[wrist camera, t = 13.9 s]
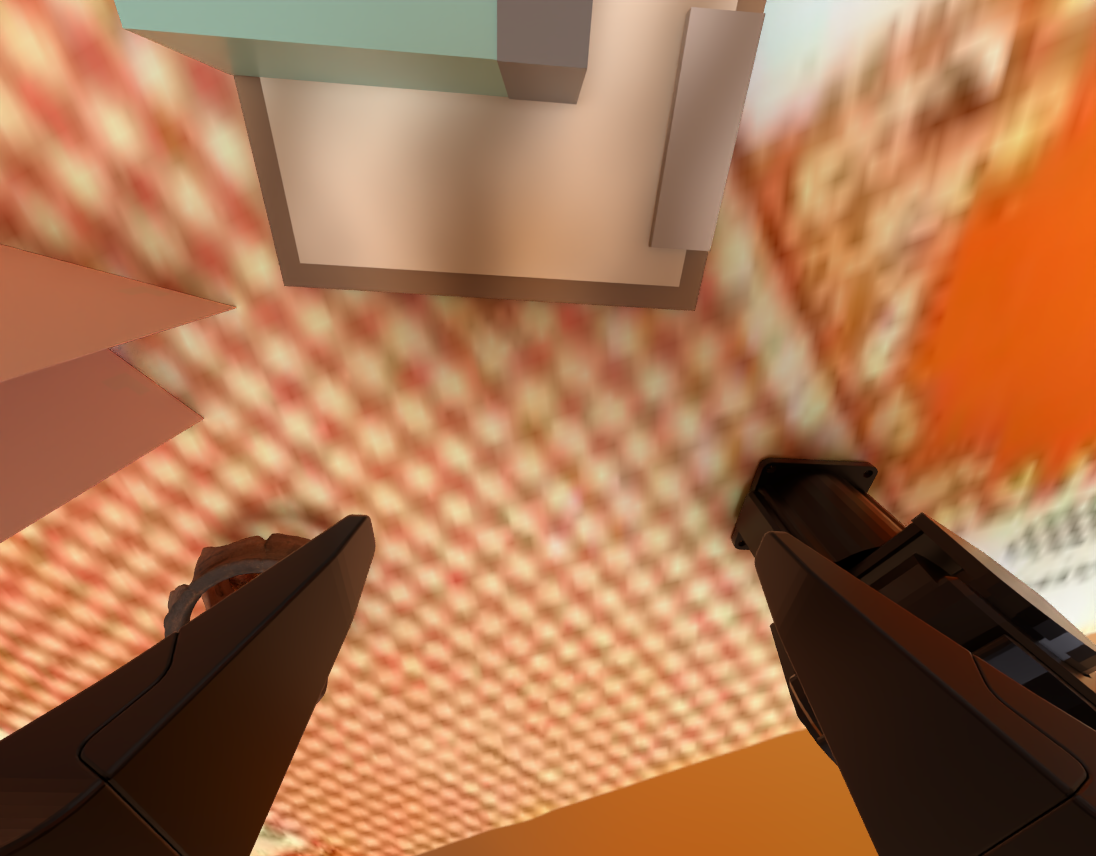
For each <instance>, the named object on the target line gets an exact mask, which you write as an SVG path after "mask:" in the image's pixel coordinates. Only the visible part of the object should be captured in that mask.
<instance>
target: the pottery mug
mask: <svg viewBox="0 0 1096 856" xmlns="http://www.w3.org/2000/svg"><path fill="white" fill-rule="evenodd" d="M309 541H311V540H309V539H306V538H301V537H298V536H289V535H284V534H279V533H276V534H272V535H271V536H270V537H269V538H268V539H267V540H264V539H263V538H262V537H260V536H253V537H249V538H245V539H242V540H240V541H238V542H235V543H232V544H229V545H225V546H221V547H205V548H203V550H202V553H201V556H200V557H199V559H198V561H197V564H196V567H195V572H194V577H193V580H192V582H191V584H190V585H186V584H183V585H181V586H178V587H177V588H176V589H175V590H174V591H171V592H170V596H169V601H168V609H169V613H168V614H167V615H166V617H165V619H164V628H165V638H166V637H167V636H169V635H170V634H172V633H173V632H179V629H180V628H181V627H183V626H184V625H186V624H187V623H189V622H190V616H191V613H192V610H193V608H194V606H195V604H196V603H197V601H198V600H199V598H200V597H201V596H202V599H203V602H204V604H205V607H206V610H208V609H209V608H211V607H212V606H214V605H215V604H217V603H218V602H220V601H221V600H223V599H224V598H226V597H227V596H229V595H230V594H232V593H233V592H235V591H234V589H233V588H232V586H231V584H230V581H229V578H231V577H234V576H237V575H242V574H249V573H263V572H264V571H266V570H267V569H269V568H270V567H272V566H273V565H275V564H276V563H278V562H279V561H281V560H282V559H284V558H285V557H287V556H288V555H290V554H291V553H293V552H294V551H296V550H297V549H299V548H300V547H302V546H303V545H305V544H306V543H308V542H309ZM327 682H328V678H327V680H326V683H325V685H324V687H323V690H322V692H321V694H320V696H319V699H318V701H317V703H318V702H319V701H320V699H321V698H322V697H323V696H324V694H325V692H326V688H327ZM317 703H316V704H317Z"/></svg>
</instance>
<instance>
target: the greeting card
mask: <svg viewBox="0 0 1096 856" xmlns="http://www.w3.org/2000/svg"><path fill="white" fill-rule="evenodd" d="M235 308H236V307H234V306H230V305H226V304H222V303H219V302H215V301H211V300H207V299H204V298H200V297H196V296H192V295H189V294H185V293H181V292H177V291H174V290H170V289H166V288H162V287H159V286H155V285H151V284H147V283H144V282H140V281H136V280H132V279H129V278H125V277H121V276H118V275H114V274H110V273H106V272H103V271H99V270H95V269H91V268H88V267H84V266H80V265H76V264H73V263H69V262H65V261H61V260H58V259H54V258H50V257H46V256H43V255H39V254H35V253H31V252H28V251H24V250H20V249H16V248H13V247H9V246H5V245H1V244H0V543H1V542H3V541H5V540H6V539H8V538H10V537H11V536H13V535H14V534H16V533H18V532H19V531H21V530H23V529H24V528H26V527H28V526H29V525H31V524H32V523H34V522H36V521H37V520H39V519H41V518H42V517H44V516H46V515H47V514H49V513H50V512H52V511H54V510H55V509H57V508H59V507H60V506H62V505H64V504H65V503H67V502H68V501H70V500H72V499H73V498H75V497H77V496H78V495H80V494H82V493H83V492H85V491H86V490H88V489H90V488H91V487H93V486H95V485H96V484H98V483H100V482H101V481H103V480H104V479H106V478H108V477H109V476H111V475H113V474H114V473H116V472H118V471H119V470H121V469H122V468H124V467H126V466H127V465H129V464H131V463H132V462H134V461H136V460H137V459H139V458H140V457H142V456H144V455H145V454H147V453H149V452H150V451H152V450H154V449H155V448H157V447H158V446H160V445H162V444H163V443H165V442H167V441H168V440H170V439H172V438H173V437H175V436H176V435H178V434H180V433H181V432H183V431H185V430H186V429H188V428H190V427H191V426H193V425H194V424H196V423H198V422H199V421H201V420H203V419H204V418H202V417H201V416H200V415H198V414H197V413H195V412H194V411H193V410H191V409H190V408H189V407H187V406H186V405H185V404H183V403H182V402H180V401H179V400H178V399H176V398H175V397H174V396H172V395H171V394H169V393H168V392H167V391H165V390H164V389H163V388H161V387H160V386H158V385H157V384H156V383H154V382H153V381H152V380H150V379H149V378H148V377H146V376H145V375H143V374H142V373H141V372H139V371H138V370H137V369H135V368H134V367H132V366H131V365H130V364H128V363H127V362H126V361H124V360H123V359H121V358H120V357H119V356H117V355H116V354H115V353H113V352H112V351H110V350H109V349H108V348H111V347H114V346H117V345H121V344H124V343H127V342H130V341H133V340H136V339H140V338H143V337H146V336H149V335H152V334H155V333H159V332H162V331H165V330H168V329H171V328H175V327H178V326H181V325H184V324H187V323H190V322H194V321H197V320H200V319H203V318H206V317H209V316H213V315H216V314H219V313H222V312H225V311H228V310H232V309H235Z"/></svg>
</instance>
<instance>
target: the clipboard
mask: <svg viewBox="0 0 1096 856" xmlns="http://www.w3.org/2000/svg"><path fill="white" fill-rule="evenodd" d="M765 4H766V0H593V5H592V17H591V29H590V41H589V53H588V65H587V71H586V74H585V78H584V81H583V84H582V88H581V91H580V94H579V97H578V101H577V104H566V103H554V102H541V101H529V100H516V99H509V97H501V96H489V95H477V94H464V93H452V92H439V91H427V90H415V89H402V88H390V87H378V86H365V85H353V84H340V83H328V82H316V81H303V80H291V79H278V78H266V77H254V76H241V75H234V79H235V83H236V87H237V91H238V95H239V99H240V103H241V108H242V112H243V116H244V120H245V124H246V128H247V133H248V137H249V141H250V145H251V149H252V153H253V157H254V162H255V166H256V170H257V174H258V178H259V182H260V187H261V191H262V195H263V199H264V203H265V207H266V211H267V216H268V220H269V224H270V228H271V232H272V236H273V241H274V245H275V249H276V253H277V257H278V261H279V265H280V270H281V274H282V278H283V282H284V286H294V287H311V288H327V289H344V290H360V291H377V292H393V293H410V294H426V295H443V296H459V297H476V298H492V299H509V300H525V301H542V302H559V303H575V304H592V305H608V306H625V307H641V308H658V309H674V310H691V311H695V308H696V303H697V299H698V295H699V290H700V286H701V282H702V277H703V273H704V268H705V264H706V260H707V255H708V251H710V250H711V245H712V241H713V237H714V232H715V228H716V224H717V219H718V215H719V211H720V207H721V202H722V198H723V194H724V189H725V185H726V181H727V176H728V172H729V168H730V163H731V159H732V155H733V151H734V146H735V142H736V138H737V133H738V129H739V125H740V120H741V116H742V112H743V107H744V103H745V99H746V94H747V90H748V86H749V82H750V77H751V73H752V69H753V64H754V60H755V56H756V51H757V47H758V43H759V38H760V34H761V30H762V26H763V21H764V17H765V13H763V12H764V8H765Z"/></svg>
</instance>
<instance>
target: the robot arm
mask: <svg viewBox="0 0 1096 856" xmlns="http://www.w3.org/2000/svg"><path fill="white" fill-rule="evenodd" d="M770 466H772V467H771V468H770V469H767V468H768V467H770ZM877 472H878V471H877V469H876V468H875V467H874V466H873V465H871V464H870V463H865V462H844V461H823V460H802V459H781V458H767V459H765V460H763V461H762V462H761V463H760V464H759V467H758V469H757V472H756V475H755V477H754V480H753V483H752V486H751V488H750V491H749V493H748V494H747V496H746V499H745V501H744V504H743V507H742V509H741V512H740V515H739V518H738V520H737V523H736V529H735V531H734V534H733V537H732V543H733V545H734V546H735V548H737V549H741V550H750V551H751V553H752V554H753V556H754V557H755V567H756V571H757V574H758V577H759V580H760V583H761V585H762V588H763V591H764V594H765V597H766V600H767V603H768V606H769V609H770V612H771V615H772V618H773V621H774V623H772V624H771V625H770V628H771V631H772V634H773V638H774V641H775V645H776V648H777V651H778V655H779V658H780V662H781V665H782V668H783V672H784V675H785V679H786V682H787V685H788V689H789V692H790V696H791V698H792V701H793V704H794V707H795V710H796V713H797V716H798V718H799V719H800V721H801V722H802V723H803V724H804V725H805V727H806V728H807V730H808V731H809V733H810V734H811V735H812V737H813V738H814V739H815V741H816V742H817V744H818V745H819V746H820V747H821V748H822V749H823V751H825V753H826V754H827V755H828V756H829V757H830V758H831V759H832V760H833V761H834V762H835V764H836V765H837V766H838V767H839V769H840V771H841V774H842V776H843V778H844V780H845V782H846V785H847V787H848V789H849V791H850V794H851V796H852V798H853V800H854V802H855V805H856V807H857V809H858V811H859V813H860V816H861V818H862V820H863V822H864V824H865V827H866V829H867V831H868V833H869V836H870V838H871V840H872V842H873V844H874V846H875V849H876V851H877V853H878V855H879V856H1096V672H1095V671H1096V645H1095V644H1094V643H1093V642H1091V641H1090V640H1089V639H1088V638H1087V637H1086V636H1085V635H1084V634H1083V633H1082V632H1080V631H1079V630H1078V629H1077V628H1076V627H1075V626H1074V625H1073V624H1072V623H1071V622H1069V621H1068V620H1067V619H1066V618H1065V617H1064V616H1063V615H1062V614H1061V613H1059V612H1058V611H1057V610H1056V609H1055V608H1054V607H1053V606H1052V605H1051V604H1049V603H1048V602H1047V601H1046V600H1045V599H1044V598H1043V597H1042V596H1040V595H1039V594H1038V593H1037V592H1035V591H1034V590H1033V589H1031V588H1030V587H1029V586H1027V585H1026V584H1025V583H1023V582H1022V581H1021V580H1019V579H1018V578H1017V577H1015V576H1014V575H1013V574H1011V573H1010V572H1009V571H1008V570H1006V569H1005V568H1004V567H1002V566H1001V565H1000V564H998V563H997V562H996V561H994V560H993V559H992V558H990V557H989V556H988V555H986V554H985V553H984V552H982V551H981V550H979V549H978V548H976V547H974V546H973V545H971V544H970V543H968V542H967V541H965V540H964V539H962V538H961V537H959V536H958V535H956V534H955V533H953V532H952V531H950V530H949V529H947V528H946V527H944V526H943V525H941V524H939V523H938V522H936V521H935V520H933V519H932V518H930V517H929V516H927V515H926V514H924V513H923V512H922V513H921V514H919V515H918V516H916V517H915V518H914V519H912V520H911V521H912V522H913V523H911V524H910V525H909V526H907V527H905V526H904V525H903V524H902V523H901V522H899V521H898V520H897V519H896V518H895V517H894V516H893V515H891V514H890V513H889V512H888V511H887V510H886V509H885V508H883V507H882V506H881V505H880V504H879V503H878V502H877V501H875V500H874V499H873V498H872V497H871V496H870V495H869V494H867V491H868V490H869V488H870V486H871V484H872V482H873V480H874V479H875V477H876V475H877ZM740 541H741V542H740ZM374 552H375V538H374V533H373V528H372V523H371V519H370V517H369V516H367V515H353V514H352V515H348V516H346V517H345V518H343V519H342V520H340V521H339V522H337V523H336V524H334V525H333V526H331V527H330V528H328V529H327V530H325V531H324V532H323V533H321V534H320V535H318V536H317V537H315V538H314V539H312V540H311V541H309V542H308V543H306V544H305V545H303V546H302V547H300V548H299V549H297V550H296V551H294V552H293V553H291V554H290V555H288V556H287V557H285V558H284V559H282V560H281V561H279V562H278V563H276V564H275V565H273V566H272V567H270V568H269V569H267V570H266V571H264V572H263V573H261V574H260V575H258V576H257V577H256V578H254V579H253V580H251V581H250V582H248V583H247V584H245V585H244V586H242V587H241V588H239V589H238V590H236V591H235V592H233V593H232V594H230V595H229V596H227V597H226V598H224V599H223V600H221V601H220V602H218V603H217V604H215V605H214V606H212V607H211V608H209V609H208V610H206V611H205V612H203V613H202V614H200V615H199V616H197V617H196V618H194V619H193V620H191V621H190V622H189V623H187V624H186V625H184V626H183V627H181V628H180V629H179V632H173V633H172V634H170V635H169V636H167V637H166V638H164V639H163V640H161V641H160V642H159V643H157V644H156V645H154V646H153V647H151V648H150V649H148V650H146V651H145V652H143V653H142V654H140V655H139V656H137V657H136V658H134V659H133V660H131V661H130V662H128V663H126V664H125V665H123V666H122V667H120V668H119V669H117V670H116V671H114V672H113V673H111V674H109V675H108V676H106V677H105V678H103V679H101V680H100V681H98V682H96V683H95V684H93V685H92V686H90V687H88V688H87V689H85V690H83V691H82V692H80V693H79V694H77V695H75V696H74V697H72V698H70V699H69V700H67V701H66V702H64V703H62V704H61V705H59V706H57V707H56V708H54V709H52V710H51V711H49V712H47V713H46V714H44V715H42V716H41V717H39V718H37V719H36V720H34V721H32V722H31V723H29V724H27V725H26V726H24V727H22V728H21V729H19V730H17V731H16V732H14V733H12V734H11V735H9V736H7V737H6V738H4V739H2V740H1V741H0V856H250V854H251V851H252V849H253V847H254V845H255V842H256V840H257V838H258V835H259V833H260V831H261V829H262V826H263V824H264V822H265V819H266V817H267V815H268V813H269V810H270V808H271V806H272V803H273V801H274V799H275V797H276V794H277V792H278V790H279V788H280V785H281V783H282V781H283V778H284V776H285V774H286V772H287V769H288V767H289V765H290V762H291V760H292V758H293V756H294V753H295V751H296V749H297V747H298V744H299V742H300V740H301V737H302V735H303V733H304V731H305V728H306V726H307V724H308V721H309V719H310V717H311V715H312V712H313V710H314V708H315V706H316V703H317V701H318V699H319V696H320V694H321V692H322V690H323V687H324V685H325V683H326V680H327V678H328V676H329V674H330V671H331V669H332V667H333V665H334V662H335V660H336V658H337V655H338V653H339V651H340V649H341V646H342V644H343V642H344V639H345V637H346V635H347V633H348V630H349V628H350V625H351V623H352V621H353V618H354V615H355V612H356V609H357V606H358V603H359V600H360V597H361V594H362V591H363V587H364V584H365V581H366V578H367V575H368V571H369V568H370V565H371V562H372V559H373V556H374Z"/></svg>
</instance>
